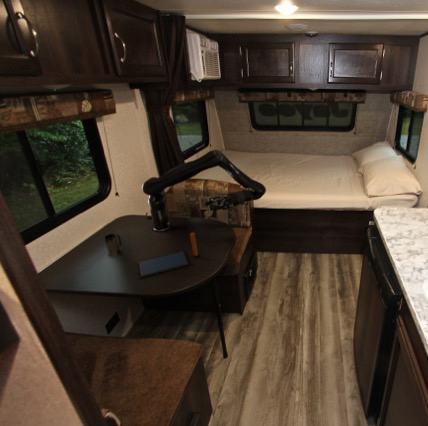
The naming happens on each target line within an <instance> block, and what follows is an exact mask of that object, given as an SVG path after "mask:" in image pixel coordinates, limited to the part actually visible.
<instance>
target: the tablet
mask: <svg viewBox="0 0 428 426" xmlns="http://www.w3.org/2000/svg"><path fill="white" fill-rule="evenodd" d="M138 264H139V273H140V278H141V279H145V278H148V277H152V276H155V275H159V274H163V273H166V272H170V271H173V270H174V271H175V270H177V269H182V268H185V267H189V266H190V264H189V261H188V258H187V256H186V253H185V251H184V250H182V251H178V252H174V253H170V254H166V255H162V256H159V257H154V258H150V259H146V260H142V261H139V262H138Z"/></svg>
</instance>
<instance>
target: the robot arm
mask: <svg viewBox="0 0 428 426" xmlns="http://www.w3.org/2000/svg"><path fill="white" fill-rule="evenodd" d="M217 167H219V168H221V169H222V170H224V171H225V172H226V173H227V174H228V175H229V176H230V177H231V178H232V179H233V180H234V181H235V182H236V183H237V184H238V185H240V186H241V187H242V188H243V189H242V190H237V191H233V192H230V193H227V194H225V195H224V197H221V196H219V195H218V196H215V197H211V198H209V200H207V201H205V202H204V206H205V207H209V206H212V205H214V206H212V211H213V212H215V211H218V210H219V211H220V210H222V211H226V210H230V209H232V208H234V207H236V206H239V205H242V204H244V203H246V202H250V201H251V202H252V201H258V200H260V199H261V198H262V197H264V195H265V194H266V193H267V189H266V185H264V184H263V183H261V182H259V181H257V180H256V179H253V178H251V177H250V176H249V175H248V174H246V173H245V172H243V171H242V170H241V169H240V168H239V167H237V166H236V165H235V164H234V163H233V162H232V161H231V160H230V159H229V158H228V157H227V156H226V155H225V154H224V153H223V152H222V151H221V150H219V149H212V150H209V151H207V152H206V153H204V154H203V155H201V156H200V157H198V158H196V159H194V160H190V161H187V162H184V163H181V164H179V165H177V166H175V167H173V168H171V169H170V170H168V171H167V172H165V173H164V174H162V175H161V176H158V177H157V176H152V177H149V178H147V180H146V181H143V183H142V187H141V191H142V192H143V194H145V195H146V196H148V200H147V204H148V207H149V211H150V216H148V214H149V212H145V218H146V219H151V220H152V225H153V230H154V231H155V232H158V233H159V232H165V231H168V230H169V229H171V223H170V222H171V221H170V219H169V214H168V208H167V205H166V192H165V190H166V189H167V188H171V187H173V186H175V185H178V184H181V183H183V182H186V181H188V180H190V179H192V178H194V177H196V176H197V175H199V174H200V173H202V172H205V171H207V170H209V169H212V168H217Z"/></svg>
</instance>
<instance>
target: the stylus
mask: <svg viewBox="0 0 428 426" xmlns="http://www.w3.org/2000/svg"><path fill="white" fill-rule="evenodd" d="M189 238H190V242H191V247H192V249H191V250H192V254H193V257H194V258H199V250H198V249H199V248H198V244H197V238H196V233H195V232H190V233H189Z"/></svg>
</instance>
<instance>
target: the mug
mask: <svg viewBox="0 0 428 426" xmlns="http://www.w3.org/2000/svg"><path fill="white" fill-rule="evenodd" d="M117 239H118V240H117ZM104 242H105V246H106V249H107V252H108V255H109V256H110V258H111V257H113V258H114V257H117V256H120V255H121V254H122V251H121V249H120V247H121V246H122V241H121V236H120V235H119V234H115V233H110V234H107V235H105V236H104Z"/></svg>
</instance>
